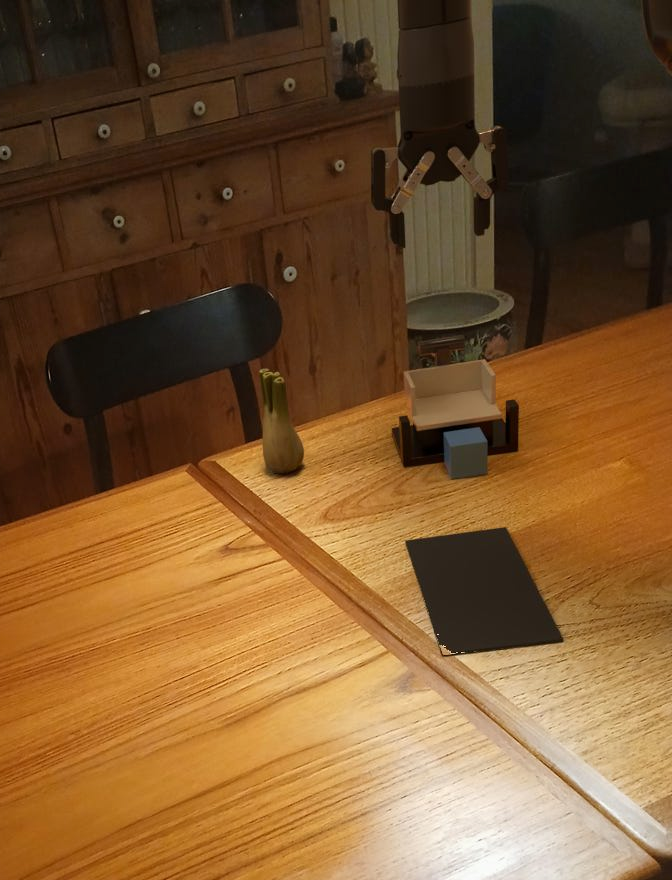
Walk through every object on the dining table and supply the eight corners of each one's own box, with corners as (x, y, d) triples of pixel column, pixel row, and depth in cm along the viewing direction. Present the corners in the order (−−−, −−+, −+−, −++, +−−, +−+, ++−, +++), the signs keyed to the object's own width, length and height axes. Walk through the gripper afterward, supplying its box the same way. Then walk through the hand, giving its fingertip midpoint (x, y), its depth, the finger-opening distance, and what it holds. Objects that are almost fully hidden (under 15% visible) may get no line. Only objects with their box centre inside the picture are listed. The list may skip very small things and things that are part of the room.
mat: (505, 529, 99) (505, 526, 98) (563, 641, 82) (563, 638, 82) (405, 542, 100) (405, 540, 100) (442, 656, 83) (441, 653, 83)
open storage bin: (480, 385, 120) (480, 330, 116) (501, 418, 111) (502, 360, 107) (402, 397, 121) (399, 343, 117) (416, 431, 112) (414, 373, 108)
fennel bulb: (266, 460, 122) (253, 366, 115) (306, 455, 121) (295, 360, 114) (264, 480, 117) (250, 383, 111) (305, 476, 116) (294, 378, 110)
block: (479, 426, 110) (487, 441, 107) (479, 459, 112) (487, 474, 109) (443, 432, 111) (450, 446, 107) (444, 464, 113) (451, 479, 109)
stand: (498, 419, 120) (499, 376, 117) (518, 451, 112) (519, 405, 109) (391, 435, 122) (389, 392, 119) (403, 467, 114) (401, 422, 111)
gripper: (370, 91, 98) (380, 260, 107) (516, 64, 96) (514, 237, 105) (361, 84, 104) (371, 244, 113) (498, 58, 102) (497, 222, 111)
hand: (440, 240), depth 109 cm, fingers open, 8 cm apart
